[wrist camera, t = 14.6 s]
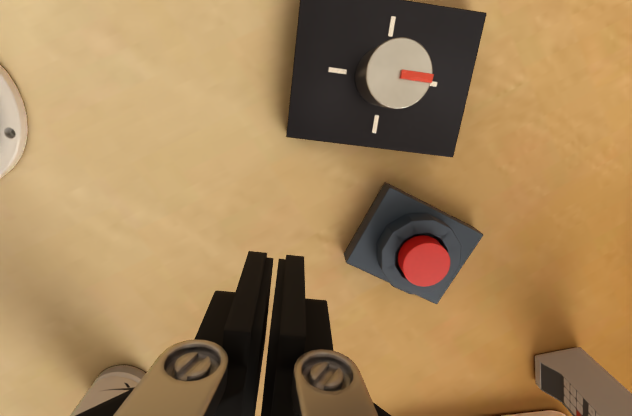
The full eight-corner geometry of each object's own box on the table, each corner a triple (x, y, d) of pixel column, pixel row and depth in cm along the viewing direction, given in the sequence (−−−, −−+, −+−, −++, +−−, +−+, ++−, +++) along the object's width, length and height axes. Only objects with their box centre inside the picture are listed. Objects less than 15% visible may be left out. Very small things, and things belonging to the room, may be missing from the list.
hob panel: (287, 133, 33) (286, 137, 30) (301, -7, 30) (301, -17, 27) (442, 152, 34) (454, 157, 31) (472, 19, 31) (487, 12, 28)
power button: (388, 266, 33) (393, 275, 31) (412, 227, 32) (419, 234, 30) (427, 284, 33) (434, 294, 32) (451, 246, 32) (459, 255, 31)
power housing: (343, 254, 36) (348, 272, 32) (384, 181, 34) (395, 192, 30) (429, 293, 38) (444, 316, 34) (474, 227, 36) (494, 243, 32)
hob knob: (350, 102, 30) (361, 104, 25) (360, 42, 28) (373, 31, 23) (404, 109, 30) (426, 113, 25) (416, 51, 29) (441, 42, 24)
